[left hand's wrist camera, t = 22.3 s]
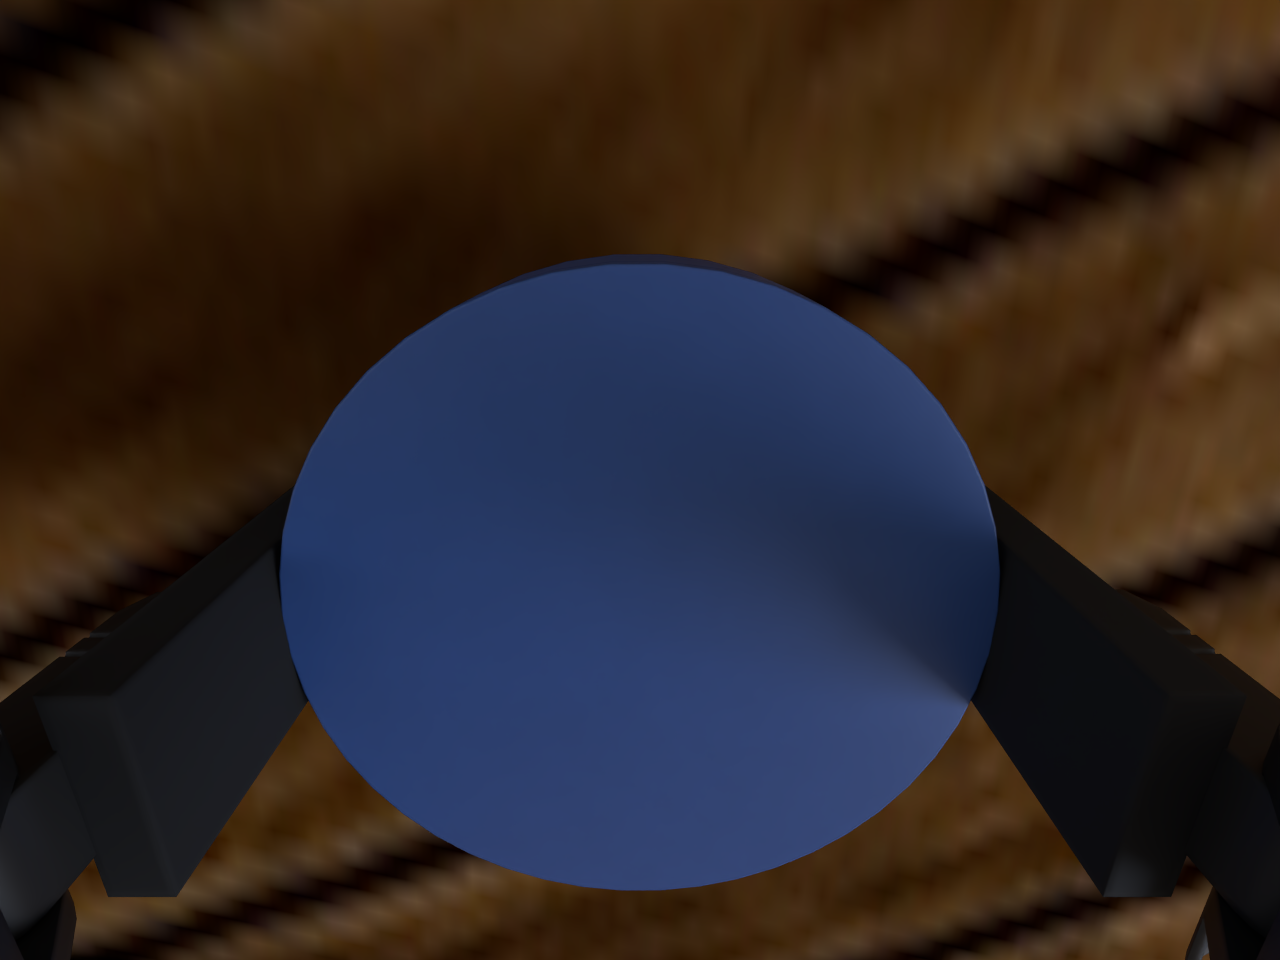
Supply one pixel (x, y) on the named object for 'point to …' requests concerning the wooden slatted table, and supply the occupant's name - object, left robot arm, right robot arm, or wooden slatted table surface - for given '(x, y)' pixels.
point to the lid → (639, 574)
